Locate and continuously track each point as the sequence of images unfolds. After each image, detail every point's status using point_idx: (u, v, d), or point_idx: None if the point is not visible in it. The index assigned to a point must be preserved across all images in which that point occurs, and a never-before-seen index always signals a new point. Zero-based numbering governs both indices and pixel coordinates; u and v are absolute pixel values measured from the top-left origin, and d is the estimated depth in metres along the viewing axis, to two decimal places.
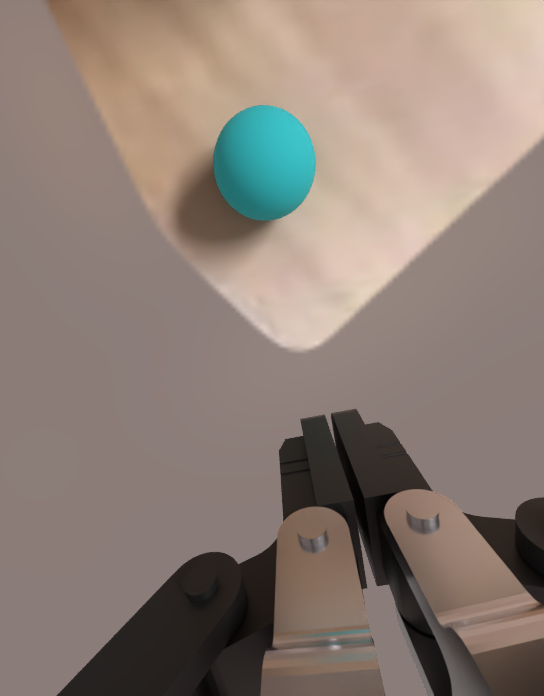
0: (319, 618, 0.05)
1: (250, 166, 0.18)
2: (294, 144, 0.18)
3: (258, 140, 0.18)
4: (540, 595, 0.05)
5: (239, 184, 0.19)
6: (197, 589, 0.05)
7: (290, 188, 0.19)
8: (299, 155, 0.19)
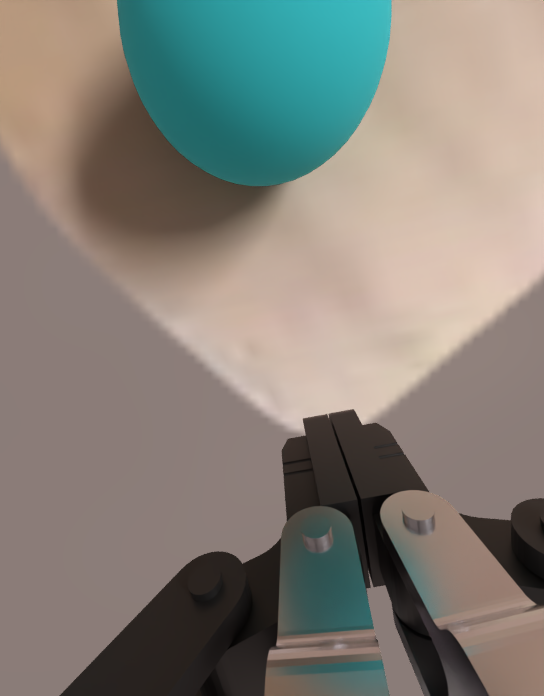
0: (323, 618, 0.05)
1: None
2: None
3: None
4: (535, 596, 0.05)
5: (179, 63, 0.06)
6: (201, 589, 0.05)
7: (329, 79, 0.07)
8: None
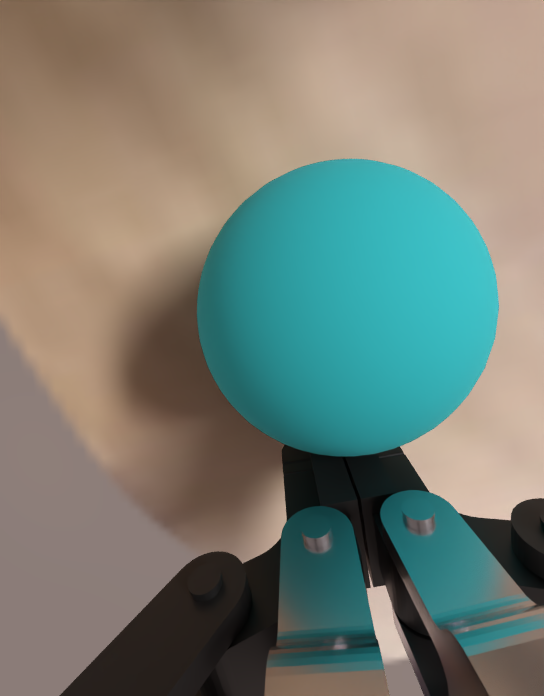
0: (323, 618, 0.05)
1: (287, 203, 0.05)
2: (424, 179, 0.06)
3: (314, 165, 0.06)
4: (535, 596, 0.05)
5: (248, 265, 0.05)
6: (201, 588, 0.05)
7: (441, 261, 0.05)
8: (447, 196, 0.06)
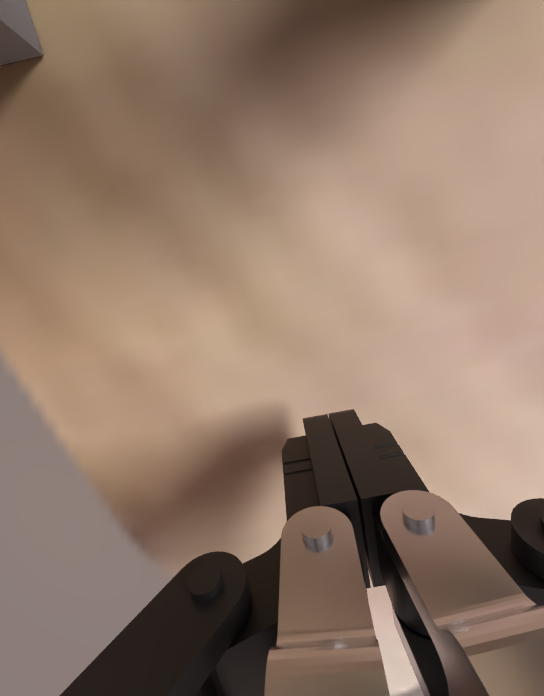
0: (323, 618, 0.05)
1: None
2: None
3: None
4: (535, 596, 0.05)
5: None
6: (201, 588, 0.05)
7: None
8: None
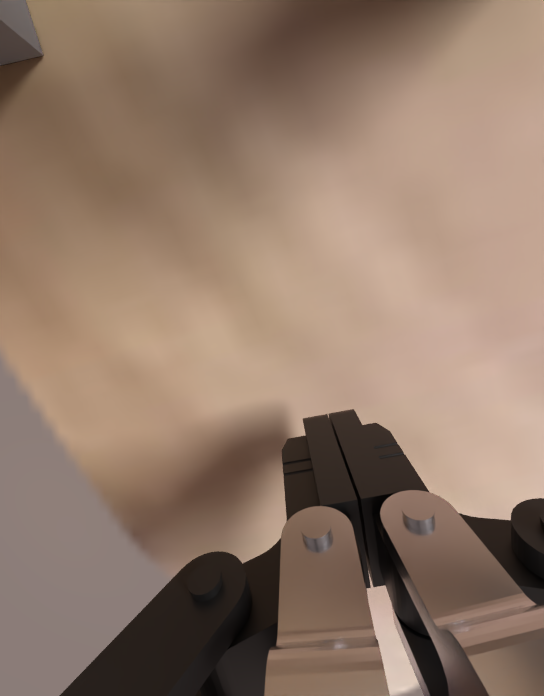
0: (323, 618, 0.05)
1: None
2: None
3: None
4: (535, 596, 0.05)
5: None
6: (201, 588, 0.05)
7: None
8: None
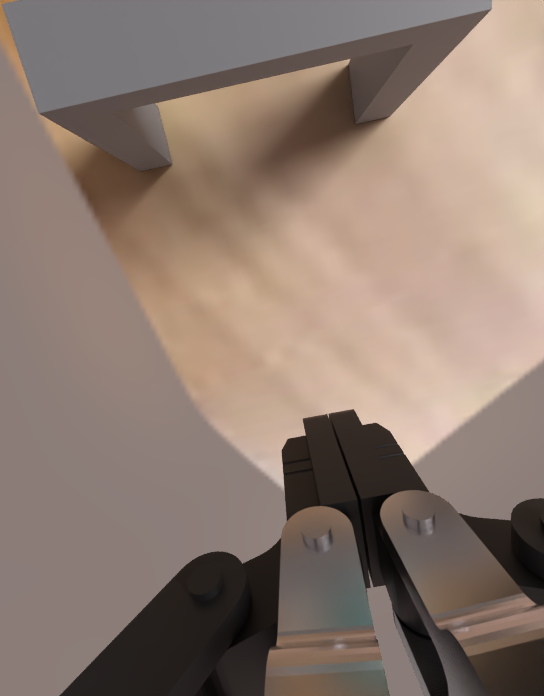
0: (323, 618, 0.05)
1: None
2: None
3: None
4: (535, 596, 0.05)
5: None
6: (201, 589, 0.05)
7: None
8: None
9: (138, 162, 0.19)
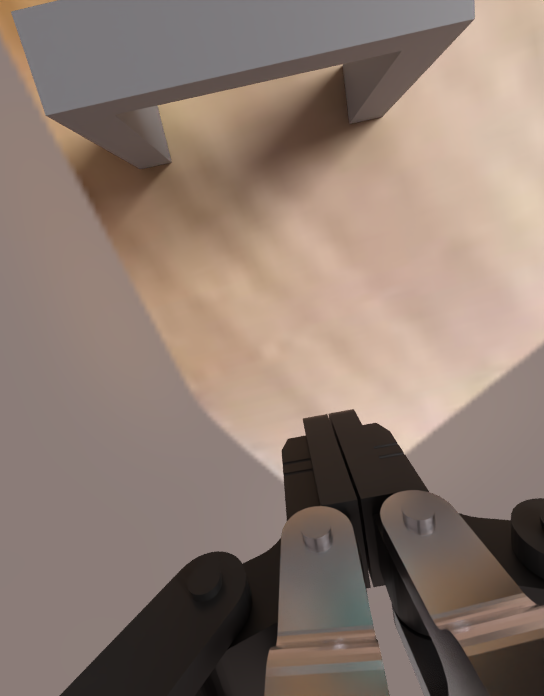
0: (323, 618, 0.05)
1: None
2: None
3: None
4: (535, 596, 0.05)
5: None
6: (201, 588, 0.05)
7: None
8: None
9: (138, 160, 0.20)
